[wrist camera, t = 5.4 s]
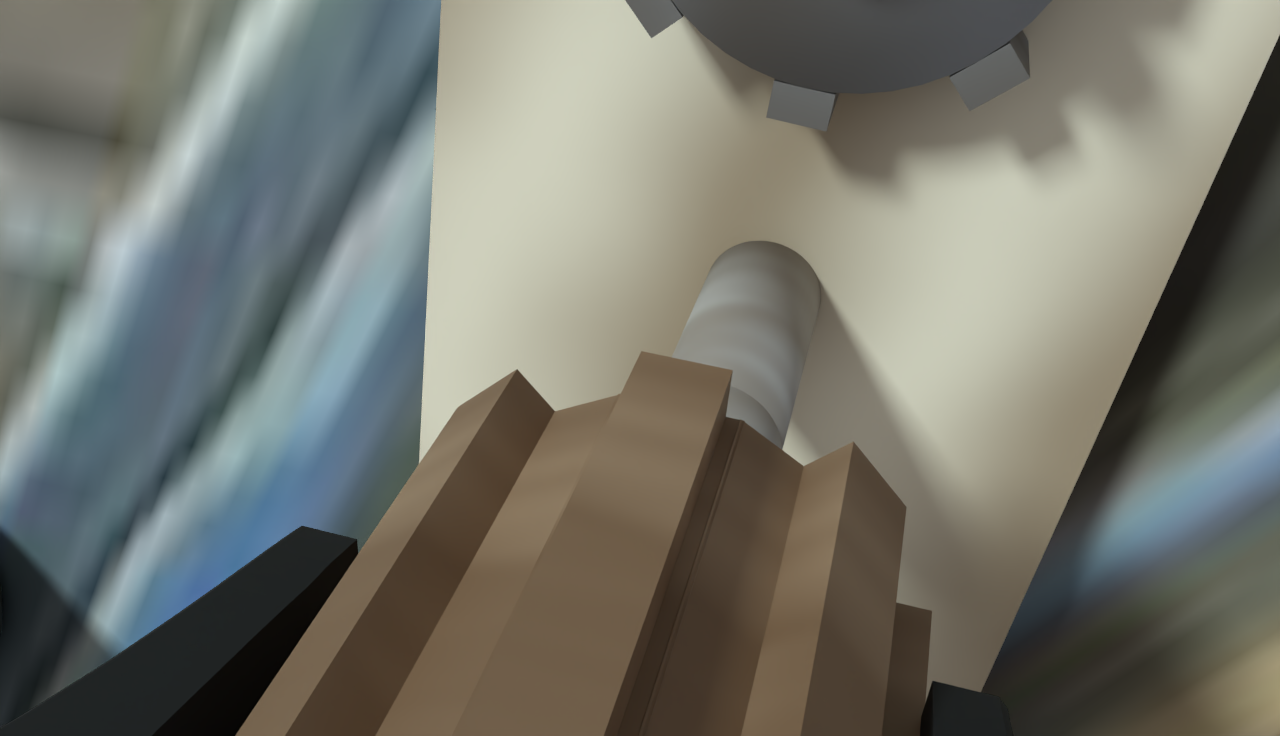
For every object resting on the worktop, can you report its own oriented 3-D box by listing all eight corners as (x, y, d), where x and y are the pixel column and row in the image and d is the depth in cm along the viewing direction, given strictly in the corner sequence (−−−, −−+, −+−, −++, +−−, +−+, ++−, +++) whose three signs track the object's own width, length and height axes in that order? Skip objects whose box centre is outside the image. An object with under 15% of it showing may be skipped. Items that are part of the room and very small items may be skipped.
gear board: (1468, -457, 13) (1752, -490, 8) (930, 762, 25) (911, 1053, 20) (508, -611, 14) (245, -718, 9) (432, 612, 26) (298, 850, 21)
